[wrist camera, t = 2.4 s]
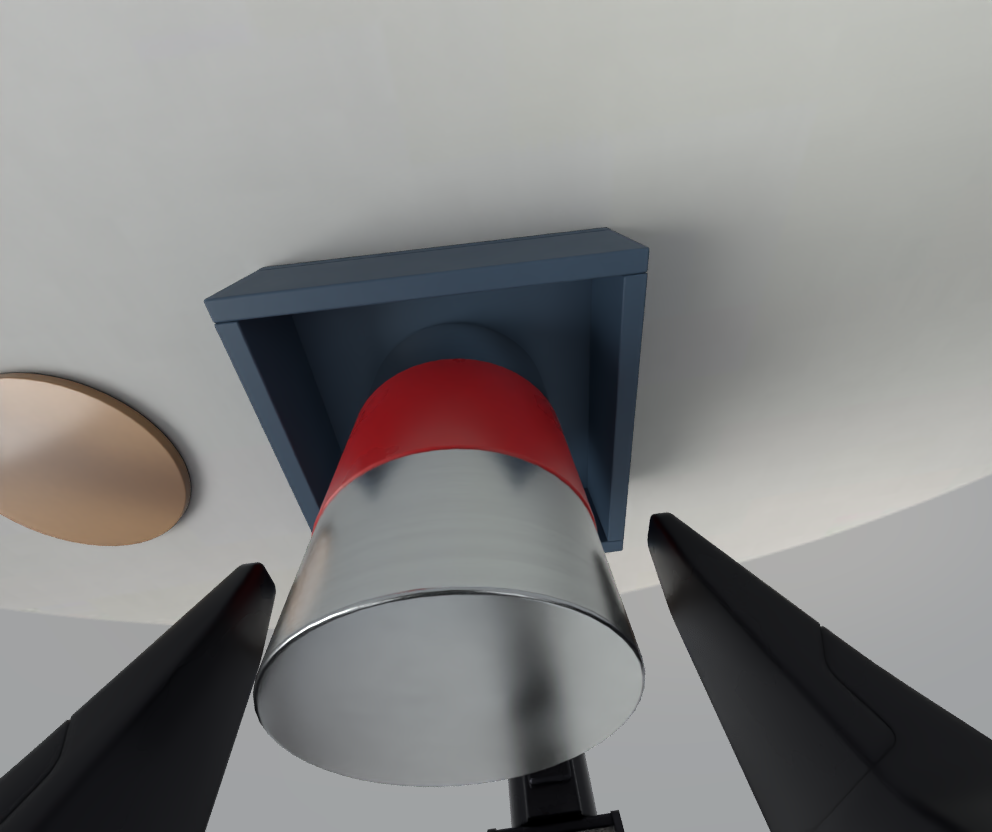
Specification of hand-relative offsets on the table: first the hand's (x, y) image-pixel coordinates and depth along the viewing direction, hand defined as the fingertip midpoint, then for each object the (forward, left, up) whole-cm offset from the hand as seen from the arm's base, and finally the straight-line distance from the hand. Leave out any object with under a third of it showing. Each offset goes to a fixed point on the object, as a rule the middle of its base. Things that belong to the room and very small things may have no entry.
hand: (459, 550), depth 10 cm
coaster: (-1, +15, -7) cm, 17 cm away
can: (0, 0, -7) cm, 7 cm away
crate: (0, 0, -7) cm, 7 cm away
